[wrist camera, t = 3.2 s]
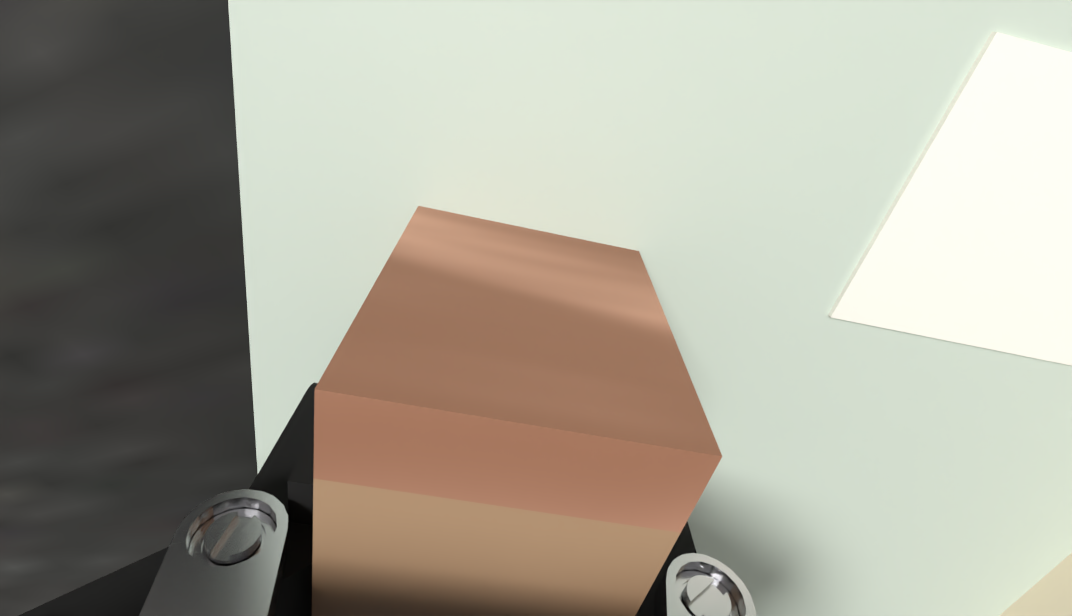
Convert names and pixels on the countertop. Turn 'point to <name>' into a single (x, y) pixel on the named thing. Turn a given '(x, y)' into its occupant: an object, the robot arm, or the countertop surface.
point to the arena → (727, 248)
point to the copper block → (503, 431)
